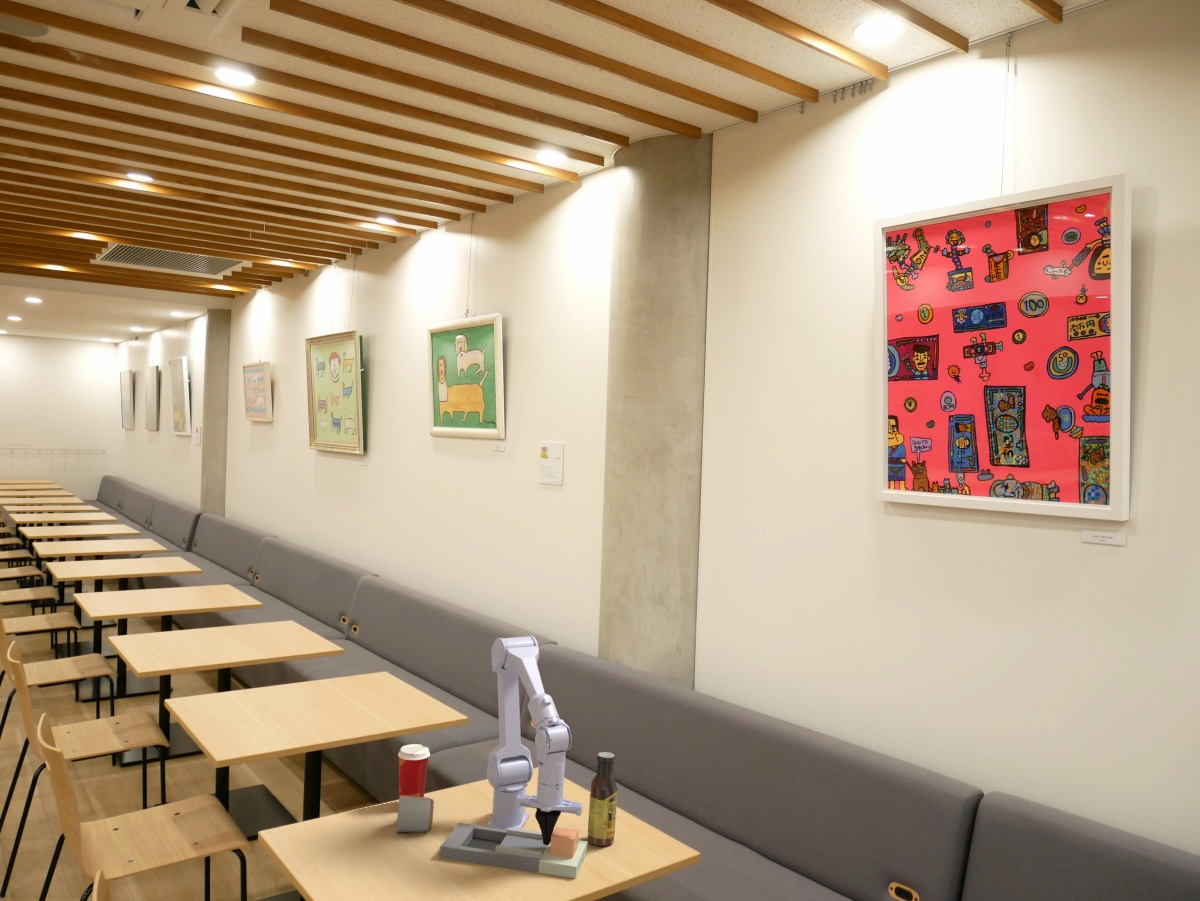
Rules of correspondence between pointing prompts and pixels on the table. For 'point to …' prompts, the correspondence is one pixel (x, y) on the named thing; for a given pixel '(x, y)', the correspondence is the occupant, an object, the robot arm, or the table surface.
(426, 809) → the grey rounded cube
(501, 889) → the table surface
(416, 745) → the paper cup
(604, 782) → the sauce bottle
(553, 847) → the terracotta block
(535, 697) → the robot arm
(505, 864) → the tunnel deck
